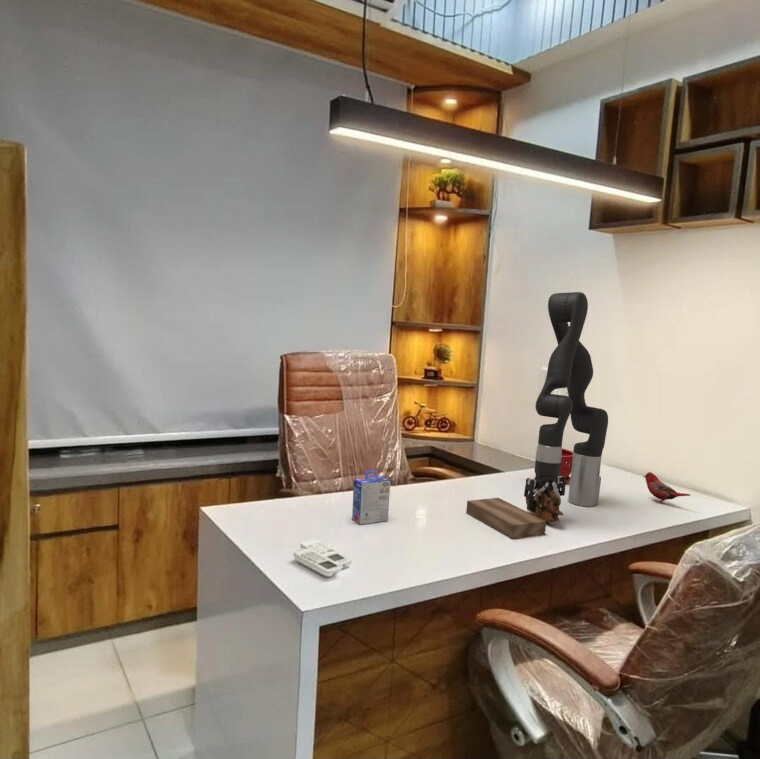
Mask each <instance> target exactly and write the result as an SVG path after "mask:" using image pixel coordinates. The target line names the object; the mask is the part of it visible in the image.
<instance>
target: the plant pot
mask: <svg viewBox="0 0 760 759" xmlns="http://www.w3.org/2000/svg"><path fill="white" fill-rule="evenodd" d="M572 459H573V451H572V450H569V449H566V448H562V457H561V467H560V476H563V477H565V478H566V483H565V484H568V483H570V478H571V469H572Z"/></svg>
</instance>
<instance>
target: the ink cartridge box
mask: <svg viewBox="0 0 760 759" xmlns="http://www.w3.org/2000/svg"><path fill="white" fill-rule="evenodd" d="M364 473H365V474H364V475H365V477H362V478H355V479H353V492H352V493H353V494H352V514H351V520H352V521H354V522H355V523H356V524H358V525H367V524H374V523H381V522H387V521H389V513H390V512H389V510H390V509H389V508H390V496H391V493H390V492H391V480H390V479H389V478H387V477H385V476H383V475H381V476H379V475H377V471H376V469H370V470H364ZM370 473H373V474H371V475H368V474H370Z"/></svg>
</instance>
